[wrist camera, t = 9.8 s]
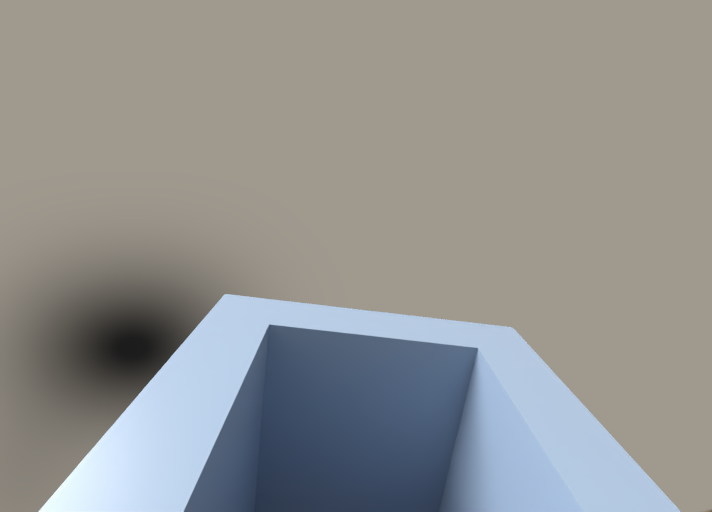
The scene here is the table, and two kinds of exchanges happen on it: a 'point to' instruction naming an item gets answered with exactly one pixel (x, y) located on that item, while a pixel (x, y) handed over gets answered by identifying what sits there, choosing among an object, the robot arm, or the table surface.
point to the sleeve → (354, 423)
